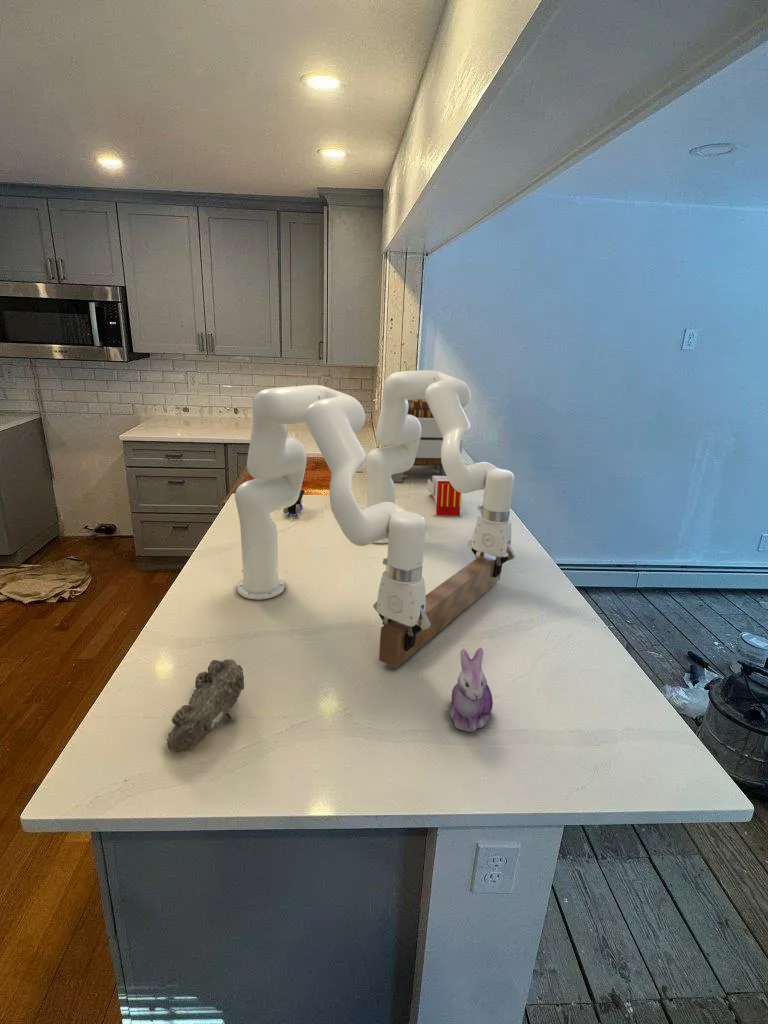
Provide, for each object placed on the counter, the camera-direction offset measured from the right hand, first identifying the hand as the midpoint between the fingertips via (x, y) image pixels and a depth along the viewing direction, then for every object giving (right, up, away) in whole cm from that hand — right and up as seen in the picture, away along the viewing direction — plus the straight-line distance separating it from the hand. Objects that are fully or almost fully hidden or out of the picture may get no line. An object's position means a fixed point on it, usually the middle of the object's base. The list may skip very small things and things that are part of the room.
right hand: (487, 572), depth 163 cm
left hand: (-26, -12, -37) cm, 47 cm away
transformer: (-13, +36, +112) cm, 119 cm away
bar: (-13, -9, -17) cm, 24 cm away
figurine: (-13, -23, -52) cm, 58 cm away
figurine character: (-64, +17, +52) cm, 84 cm away
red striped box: (-6, +20, +69) cm, 72 cm away
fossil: (-63, -22, -55) cm, 86 cm away
